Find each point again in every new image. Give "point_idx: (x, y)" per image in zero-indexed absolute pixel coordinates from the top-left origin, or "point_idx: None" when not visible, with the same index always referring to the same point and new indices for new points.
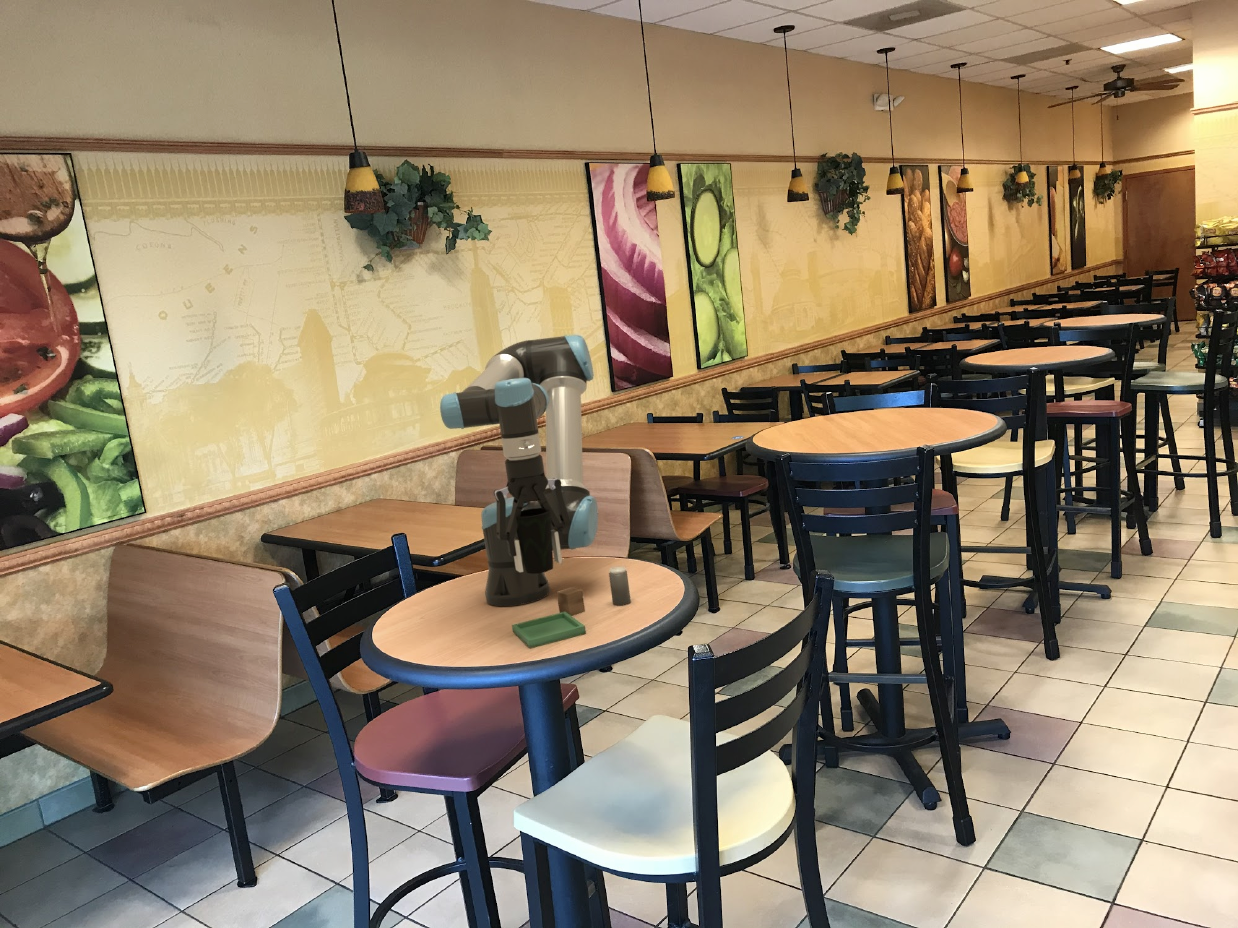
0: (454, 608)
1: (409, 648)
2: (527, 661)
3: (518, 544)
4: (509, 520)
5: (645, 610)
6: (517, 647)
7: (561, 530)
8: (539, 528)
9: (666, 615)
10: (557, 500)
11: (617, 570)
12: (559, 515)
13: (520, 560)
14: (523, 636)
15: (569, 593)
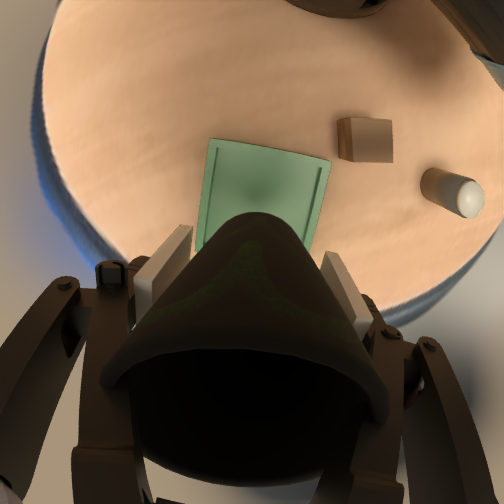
0: None
1: (65, 82)
2: None
3: None
4: (86, 351)
5: (423, 254)
6: (183, 223)
7: None
8: (235, 426)
9: (417, 297)
10: (413, 488)
11: (466, 210)
12: (424, 378)
13: None
14: (198, 218)
15: (362, 158)
